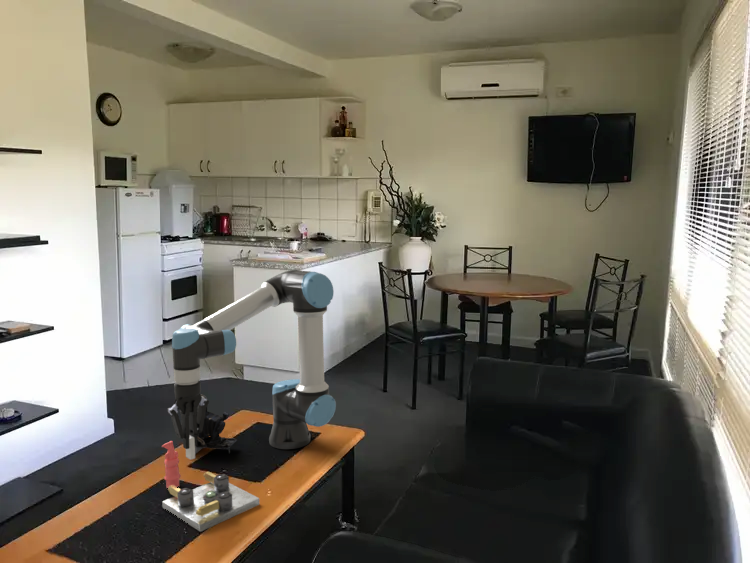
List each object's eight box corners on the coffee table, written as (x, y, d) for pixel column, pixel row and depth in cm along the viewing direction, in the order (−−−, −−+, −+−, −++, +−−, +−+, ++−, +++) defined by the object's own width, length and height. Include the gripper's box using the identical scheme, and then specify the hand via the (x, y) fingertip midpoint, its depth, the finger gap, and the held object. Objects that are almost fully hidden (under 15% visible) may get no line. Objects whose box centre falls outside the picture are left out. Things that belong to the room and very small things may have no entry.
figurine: (165, 492, 193) (162, 445, 191) (162, 485, 197) (160, 440, 195) (182, 488, 195) (180, 442, 193) (179, 481, 200) (177, 437, 198)
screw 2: (231, 487, 190) (231, 475, 190) (219, 492, 187) (219, 480, 187) (211, 476, 198) (210, 465, 197) (198, 481, 195) (198, 470, 194)
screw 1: (196, 502, 181) (196, 490, 181) (183, 508, 178) (182, 495, 178) (176, 490, 189) (175, 478, 188) (163, 495, 186) (162, 483, 185)
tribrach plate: (220, 484, 198) (220, 471, 197) (259, 504, 184) (258, 491, 184) (162, 507, 183) (161, 494, 182) (200, 531, 170) (199, 517, 169)
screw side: (226, 501, 182) (226, 489, 181) (235, 506, 179) (234, 493, 178) (192, 516, 173) (191, 503, 173) (201, 521, 171) (200, 508, 170)
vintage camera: (226, 460, 217) (226, 405, 214) (185, 455, 220) (185, 401, 217) (238, 449, 226) (238, 396, 224) (198, 445, 229) (198, 393, 227)
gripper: (199, 374, 191) (202, 448, 194) (160, 383, 182) (164, 460, 185) (213, 379, 186) (216, 454, 189) (173, 388, 177) (177, 468, 180)
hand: (190, 457), depth 187 cm, fingers closed
